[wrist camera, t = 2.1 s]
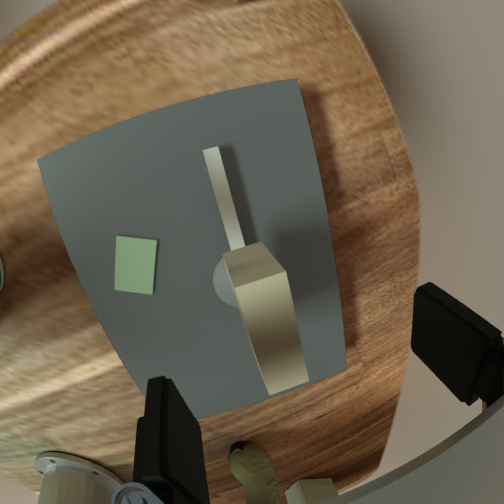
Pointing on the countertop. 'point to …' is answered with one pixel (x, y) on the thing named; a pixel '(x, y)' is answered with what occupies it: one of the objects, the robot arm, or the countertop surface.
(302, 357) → the key
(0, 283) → the supplement bottle
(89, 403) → the countertop surface
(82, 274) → the board
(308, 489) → the skincare box
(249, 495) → the mushroom
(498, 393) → the robot arm
